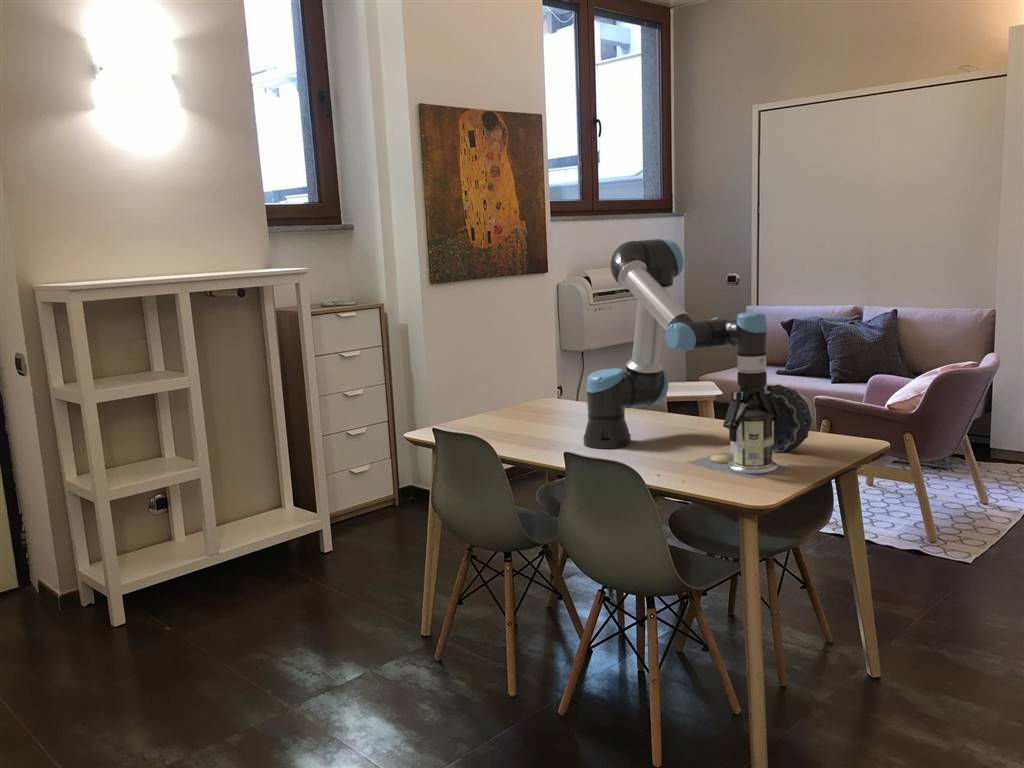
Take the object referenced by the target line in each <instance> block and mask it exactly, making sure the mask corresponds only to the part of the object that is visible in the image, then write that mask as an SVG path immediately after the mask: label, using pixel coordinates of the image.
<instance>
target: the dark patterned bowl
mask: <svg viewBox="0 0 1024 768" xmlns="http://www.w3.org/2000/svg"><path fill="white" fill-rule="evenodd" d="M771 386H772V391H773V396H774V398H775V401H776V404H777V407H778V410H779V413H780V417H778V420H777V421H774V444H773V445H772V453H785V452H786V453H787V452H790V451H793V450H795V449H797V448H798V447H799V446H800V445H802V443H803V442H804V441H805V440H806V439H808V436H809V432H810V430H811V424H812V423H813V419H812V417H811V411H810V409H809V403H808V402H807V401H806V400H805V398H803V397H802V396H801V395H800V394H799V392H798V391H797V390H796V389H792V388H790V387H787V386H784V385H781V384H774V385H771ZM743 404H744V403H743ZM747 410H760V409H759V407H758V405H754V406H750V408H749V409H747Z"/></svg>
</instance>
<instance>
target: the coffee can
mask: <svg viewBox="0 0 1024 768" xmlns="http://www.w3.org/2000/svg"><path fill="white" fill-rule="evenodd" d="M772 416H773V414H772V413H771V412H767V411H761V410H747V411H746V413H745V415H744V417H743V419H742V421H741V423H740V425H739V427H738V429H740V454H737V453H733V454H734V465H735V466H737V467H740V468H745V469H763V468H768V467H771V466H772V465H773V463H772V461H773V452H772ZM734 425H735V424H734Z"/></svg>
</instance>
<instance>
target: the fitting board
mask: <svg viewBox="0 0 1024 768" xmlns="http://www.w3.org/2000/svg"><path fill="white" fill-rule="evenodd" d="M733 460H734V453H731V452H725V451H723V452H719V453H716V454H713V455H709V456H704V457H700V458H697V459H693V460H689V461H685V463H686V464H690V465H694V466H699V467H702V468H706V469H711V470H714V471H719V472H722V473H727V474H732V475H735V476H738V477H739V476H740V477H743V478H747V479H753V480H755V479H759V478H761V477H765V476H768V475H769V476H770V475H773V474H775V473H779V472H782V471H785V470H789V469H792V468H793V467H792V466H789V465H785V464H779V463H776V464H777V471H775V472H772V473H768V474H760V475H750V474H740V473H735V472H732V471H730V470H729V469H728V463H729V462H730V461H733Z"/></svg>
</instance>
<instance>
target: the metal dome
mask: <svg viewBox="0 0 1024 768" xmlns="http://www.w3.org/2000/svg"><path fill="white" fill-rule="evenodd" d="M772 463H773V465H772V466H771V467H768V468H763V469H745V468H740V467H737V466H735V465H734V460H733V461H730V462H729V463H728V469H729V470H730V471H732V472H735V473H740V474H750V475H760V474H768V473H772V472H775V471H777V464H778V463H776V462H775V461H773V460H772ZM772 474H773V473H772Z"/></svg>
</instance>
